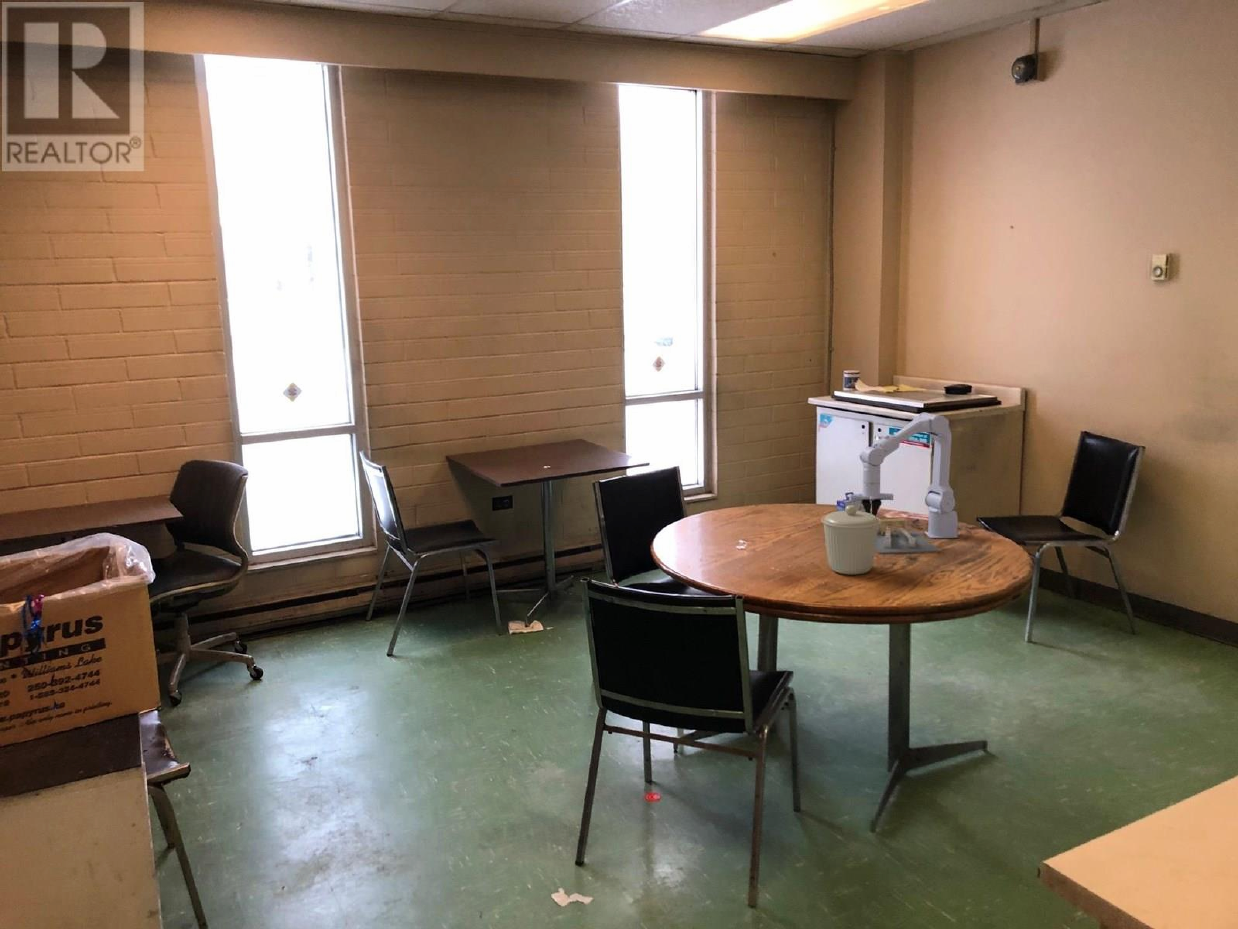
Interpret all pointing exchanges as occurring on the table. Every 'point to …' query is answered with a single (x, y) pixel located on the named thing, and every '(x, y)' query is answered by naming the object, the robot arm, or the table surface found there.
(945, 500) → the robot arm
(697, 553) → the table surface
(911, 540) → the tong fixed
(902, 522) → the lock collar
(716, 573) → the table surface
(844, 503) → the ink cartridge box
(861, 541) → the canister
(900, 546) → the mat
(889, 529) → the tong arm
